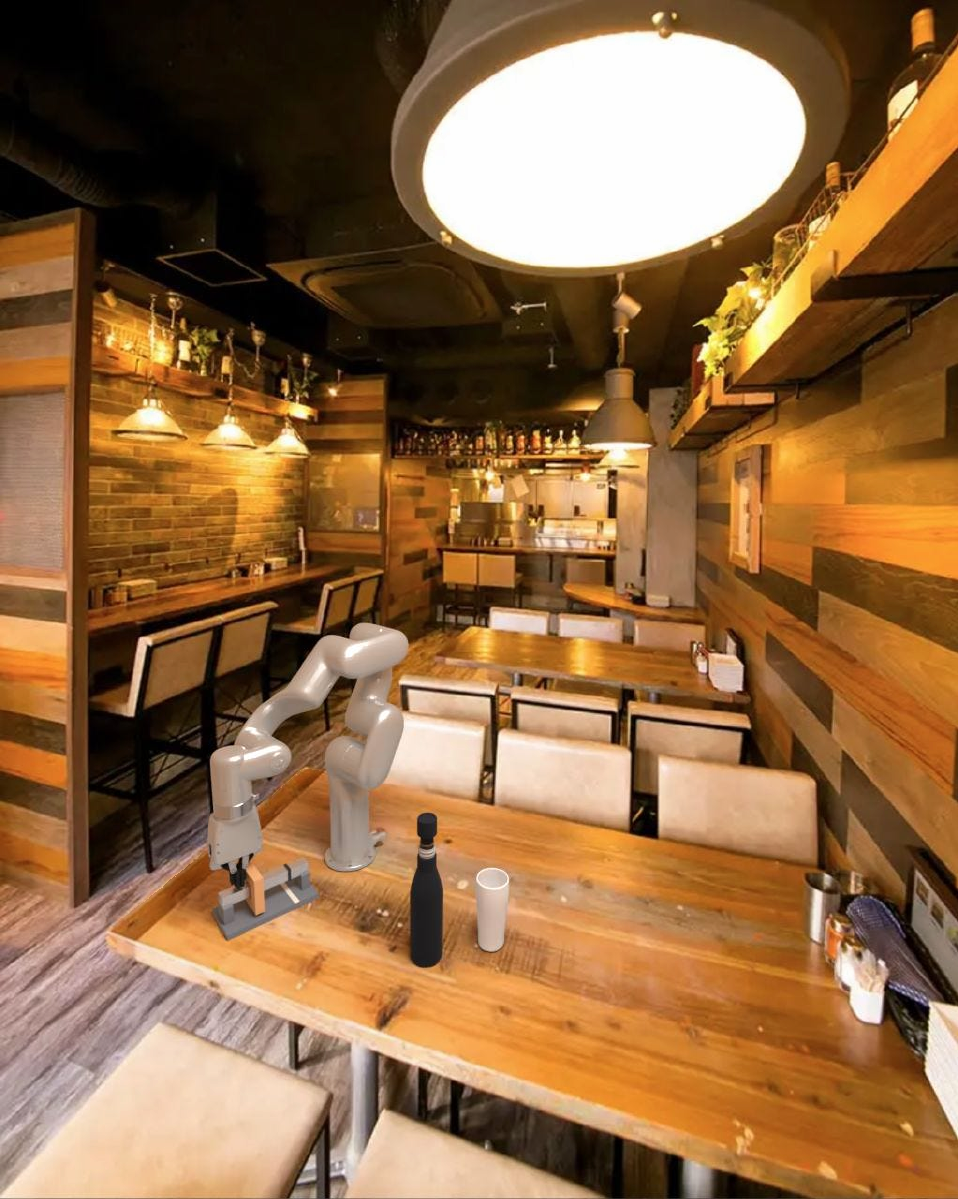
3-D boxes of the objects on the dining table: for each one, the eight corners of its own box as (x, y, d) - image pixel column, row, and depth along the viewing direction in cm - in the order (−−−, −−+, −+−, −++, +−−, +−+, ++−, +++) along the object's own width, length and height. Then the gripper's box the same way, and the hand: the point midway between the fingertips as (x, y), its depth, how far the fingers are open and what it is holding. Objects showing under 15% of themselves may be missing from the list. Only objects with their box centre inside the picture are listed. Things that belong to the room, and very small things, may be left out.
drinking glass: (511, 936, 120) (513, 871, 118) (501, 960, 114) (503, 892, 111) (480, 927, 123) (482, 864, 120) (469, 950, 116) (471, 884, 114)
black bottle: (437, 970, 111) (438, 829, 106) (405, 964, 113) (405, 824, 107) (445, 945, 117) (447, 811, 112) (415, 940, 119) (416, 807, 113)
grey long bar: (303, 866, 134) (303, 856, 134) (308, 872, 132) (308, 861, 132) (218, 902, 122) (217, 891, 121) (222, 909, 120) (222, 898, 119)
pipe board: (299, 875, 138) (299, 857, 137) (318, 897, 131) (318, 879, 130) (212, 913, 125) (210, 894, 124) (227, 940, 117) (226, 920, 117)
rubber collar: (251, 891, 129) (249, 859, 128) (265, 911, 123) (263, 877, 122) (242, 895, 128) (240, 863, 126) (255, 915, 122) (254, 881, 120)
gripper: (262, 787, 127) (266, 862, 130) (189, 810, 117) (195, 890, 121) (275, 801, 121) (279, 878, 125) (200, 827, 112) (206, 910, 115)
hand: (238, 884), depth 123 cm, fingers closed
